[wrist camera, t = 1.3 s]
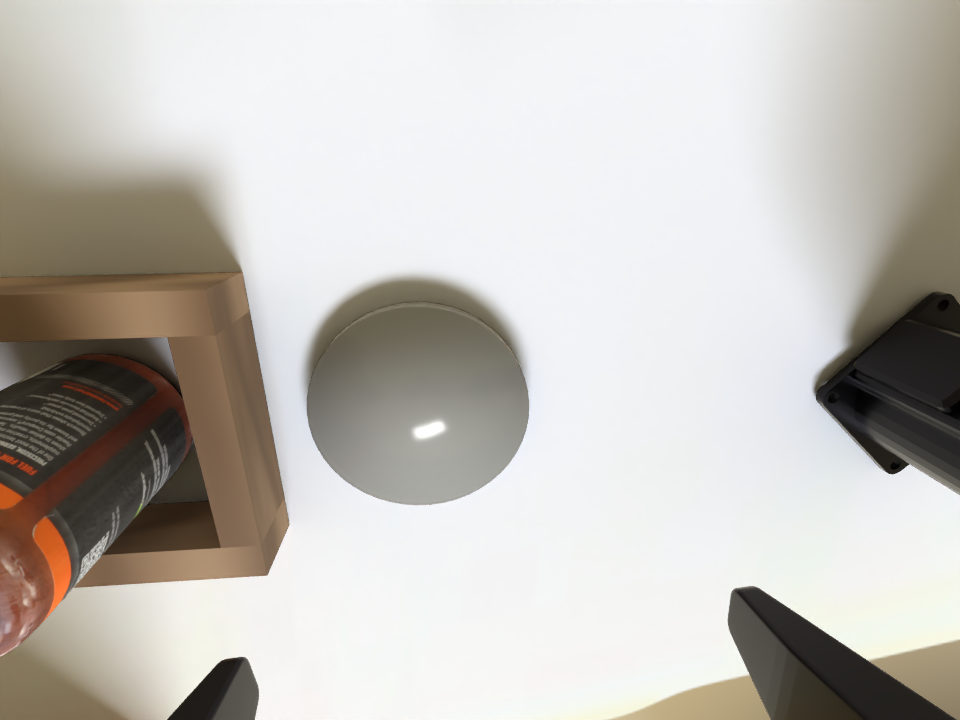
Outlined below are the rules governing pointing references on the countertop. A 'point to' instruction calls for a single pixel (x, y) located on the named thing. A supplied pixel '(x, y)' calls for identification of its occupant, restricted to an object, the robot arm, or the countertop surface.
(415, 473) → the grey round disc
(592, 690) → the countertop surface
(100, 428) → the supplement bottle
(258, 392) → the walnut holder
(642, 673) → the countertop surface
